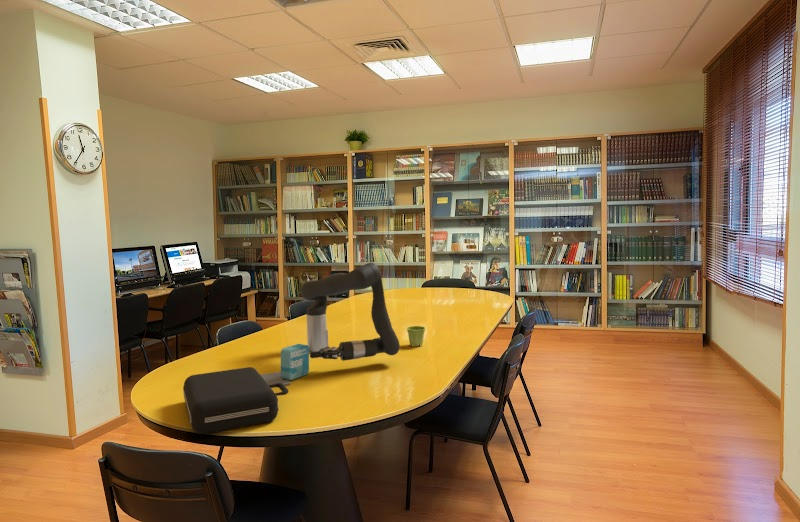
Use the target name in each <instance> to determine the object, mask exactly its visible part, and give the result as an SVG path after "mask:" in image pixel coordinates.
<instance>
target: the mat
mask: <svg viewBox="0 0 800 522" xmlns="http://www.w3.org/2000/svg"><path fill="white" fill-rule="evenodd" d="M259 374H260V373H259ZM260 375H261V376H262V378H263V379H264V380H265V381H266V383H267V384H268V385H272V384H276V383H282V384H284V385H285V387H287V386H291V382H290V380H288V379H283V378H281V371H276V372H270V373H261V374H260ZM270 388H271V389H272V388H273V387H270Z"/></svg>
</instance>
